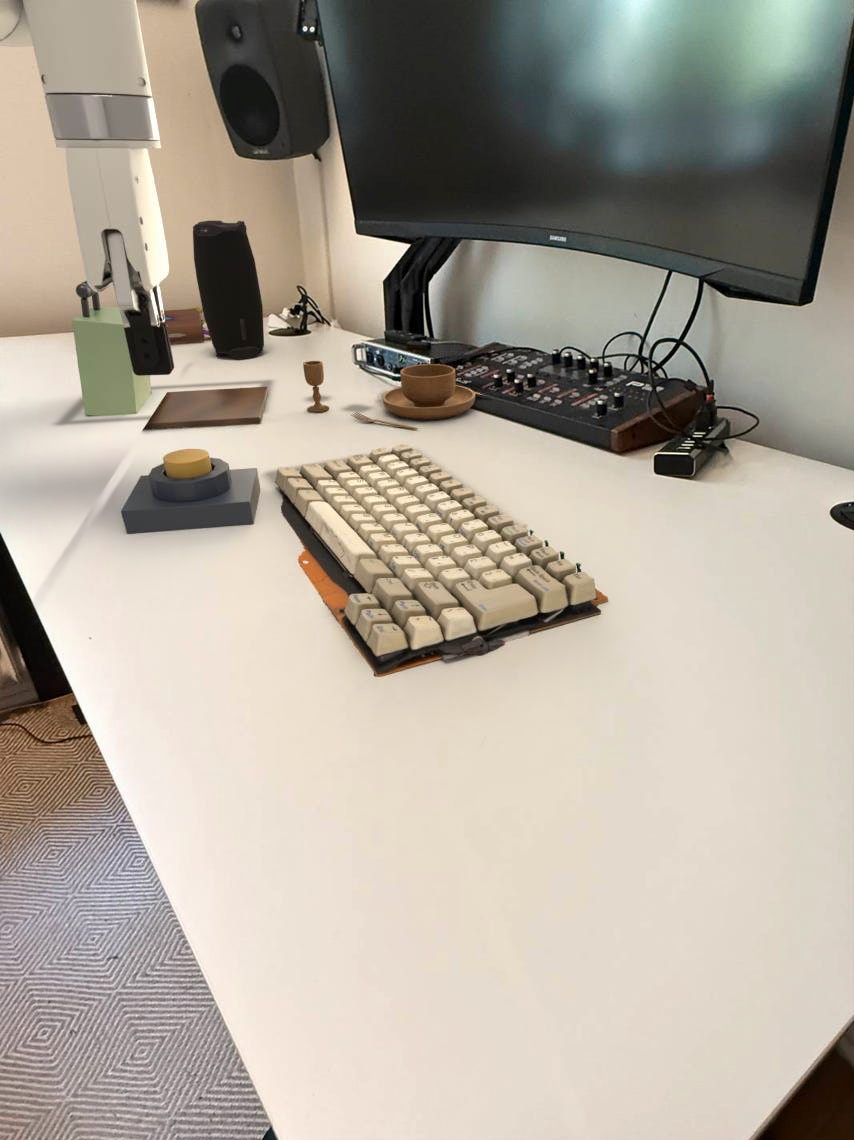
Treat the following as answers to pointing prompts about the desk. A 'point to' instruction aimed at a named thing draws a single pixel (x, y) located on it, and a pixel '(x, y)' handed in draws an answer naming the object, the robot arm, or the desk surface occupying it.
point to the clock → (106, 360)
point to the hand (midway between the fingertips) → (154, 372)
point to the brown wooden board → (209, 408)
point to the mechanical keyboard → (424, 561)
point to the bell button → (187, 463)
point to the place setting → (409, 393)
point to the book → (185, 324)
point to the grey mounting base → (192, 500)
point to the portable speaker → (229, 288)
